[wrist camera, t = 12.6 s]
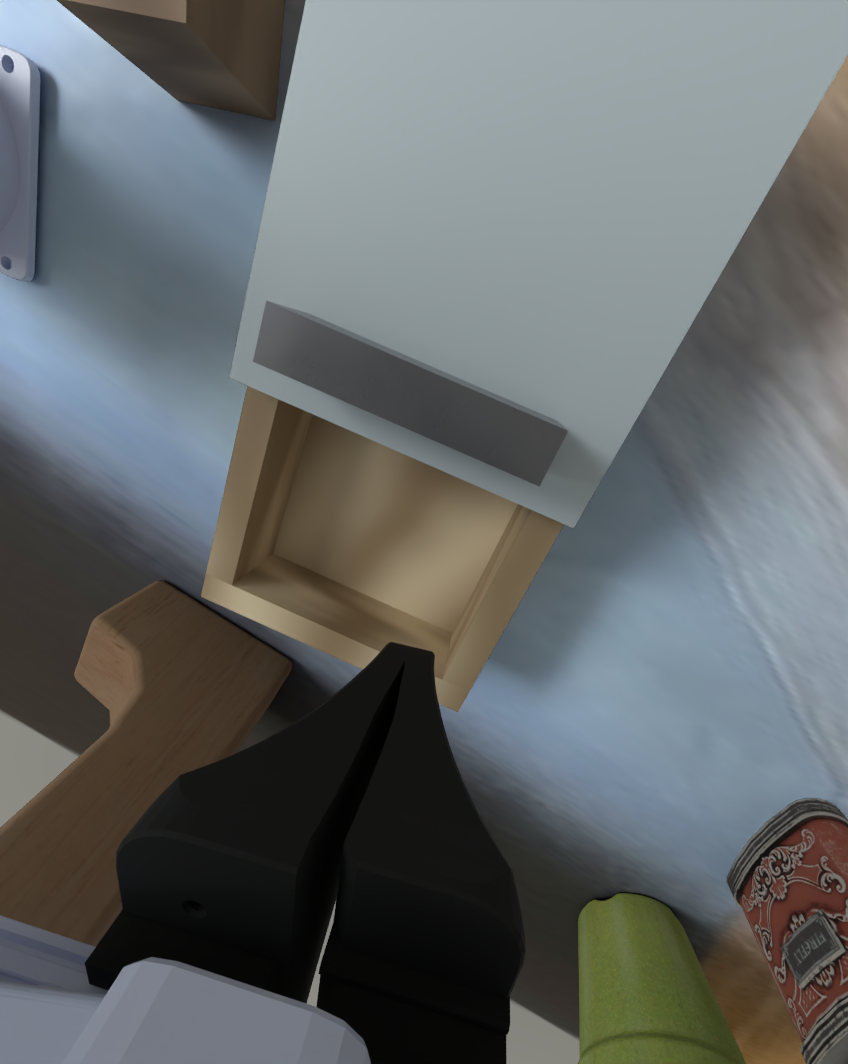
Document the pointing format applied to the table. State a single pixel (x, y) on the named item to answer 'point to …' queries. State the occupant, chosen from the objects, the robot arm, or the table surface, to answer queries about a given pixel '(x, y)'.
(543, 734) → the table surface
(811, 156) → the table surface
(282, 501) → the brown piece
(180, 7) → the small brown block
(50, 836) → the wooden block
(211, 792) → the robot arm
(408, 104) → the toolbox lid
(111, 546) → the table surface
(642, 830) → the table surface
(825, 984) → the lighter
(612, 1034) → the plant pot
